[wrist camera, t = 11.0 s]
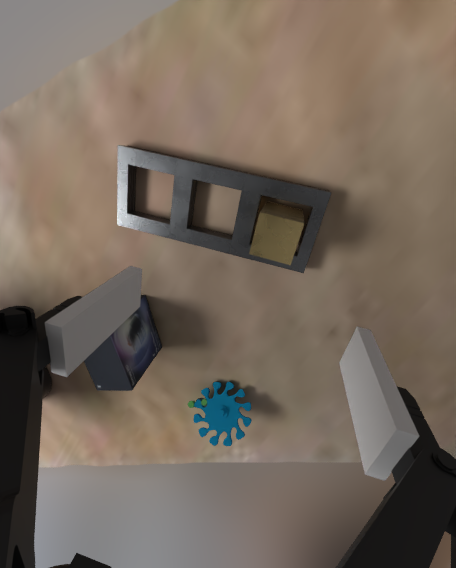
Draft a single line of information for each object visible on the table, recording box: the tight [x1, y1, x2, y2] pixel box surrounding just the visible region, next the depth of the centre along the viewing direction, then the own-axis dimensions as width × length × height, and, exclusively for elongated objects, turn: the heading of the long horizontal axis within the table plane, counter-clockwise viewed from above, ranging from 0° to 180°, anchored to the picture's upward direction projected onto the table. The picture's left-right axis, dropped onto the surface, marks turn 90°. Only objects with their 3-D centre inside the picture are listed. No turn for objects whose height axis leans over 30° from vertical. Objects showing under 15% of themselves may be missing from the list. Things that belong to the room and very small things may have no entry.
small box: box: [84, 295, 162, 391], centre depth 42 cm, size 11×6×10 cm, turn 11°
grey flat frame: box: [117, 145, 331, 273], centre depth 35 cm, size 26×10×2 cm, turn 79°
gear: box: [188, 382, 252, 446], centre depth 48 cm, size 11×6×10 cm
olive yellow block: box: [249, 201, 304, 265], centre depth 31 cm, size 4×4×8 cm
